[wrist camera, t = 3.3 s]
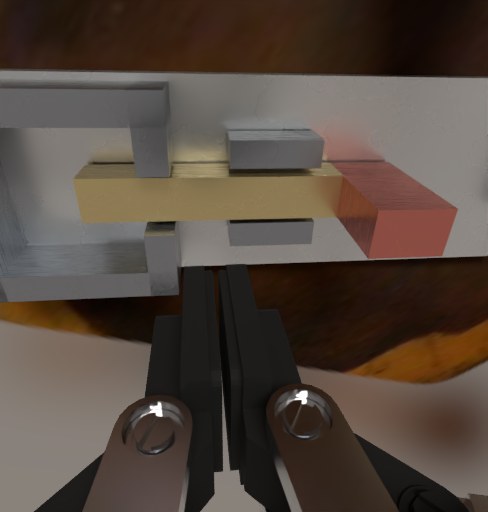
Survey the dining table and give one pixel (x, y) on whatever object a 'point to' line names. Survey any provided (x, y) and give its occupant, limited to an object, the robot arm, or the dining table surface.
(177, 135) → the station
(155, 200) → the lock pin
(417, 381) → the dining table surface
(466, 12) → the dining table surface
